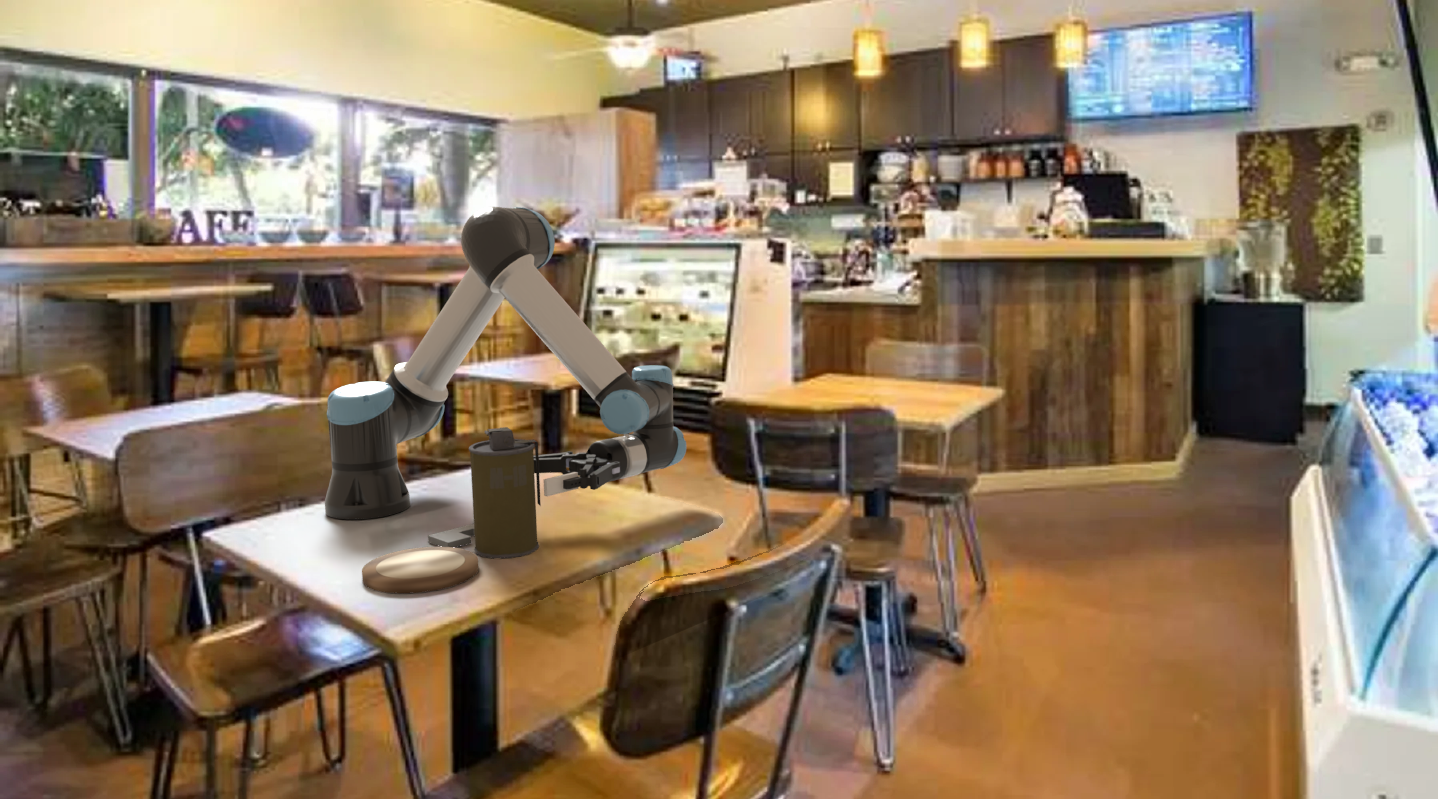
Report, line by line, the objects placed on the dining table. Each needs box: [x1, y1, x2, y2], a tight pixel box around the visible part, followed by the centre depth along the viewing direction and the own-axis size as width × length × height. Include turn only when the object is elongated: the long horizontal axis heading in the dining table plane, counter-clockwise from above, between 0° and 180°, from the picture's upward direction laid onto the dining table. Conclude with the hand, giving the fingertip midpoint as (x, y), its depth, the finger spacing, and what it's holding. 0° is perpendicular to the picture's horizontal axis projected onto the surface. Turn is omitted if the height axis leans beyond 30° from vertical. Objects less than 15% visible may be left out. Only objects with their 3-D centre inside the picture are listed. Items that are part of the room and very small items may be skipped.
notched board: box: [427, 523, 475, 548], centre depth 170 cm, size 6×12×1 cm, turn 138°
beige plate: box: [361, 546, 480, 595], centre depth 152 cm, size 17×17×2 cm
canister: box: [468, 426, 541, 559], centre depth 162 cm, size 11×10×20 cm
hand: (518, 481), depth 164 cm, fingers open, 13 cm apart
